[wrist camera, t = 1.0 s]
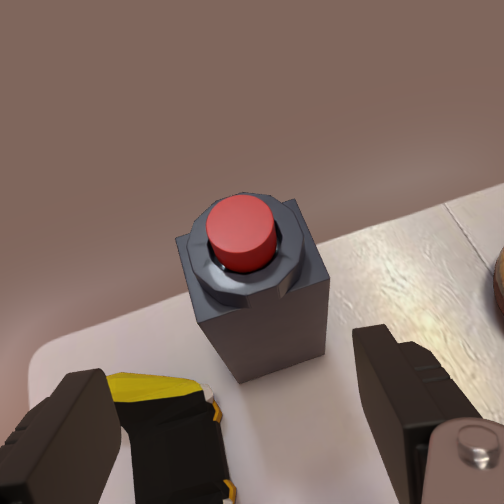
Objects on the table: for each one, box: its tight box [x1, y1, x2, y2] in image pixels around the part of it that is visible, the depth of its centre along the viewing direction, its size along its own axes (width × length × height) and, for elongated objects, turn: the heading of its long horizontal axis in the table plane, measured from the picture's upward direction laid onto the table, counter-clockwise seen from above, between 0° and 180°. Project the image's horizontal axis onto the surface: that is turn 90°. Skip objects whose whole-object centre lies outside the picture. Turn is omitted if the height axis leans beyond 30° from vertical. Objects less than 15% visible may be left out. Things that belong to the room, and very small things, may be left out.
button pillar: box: [175, 192, 330, 384], centre depth 33 cm, size 8×6×18 cm
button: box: [206, 195, 277, 273], centre depth 24 cm, size 4×4×2 cm
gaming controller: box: [106, 372, 236, 504], centre depth 34 cm, size 15×6×10 cm
